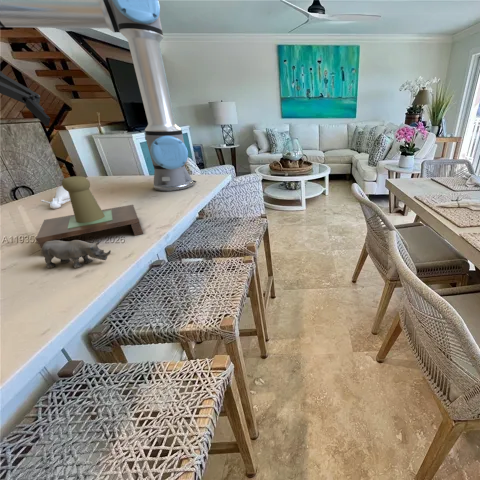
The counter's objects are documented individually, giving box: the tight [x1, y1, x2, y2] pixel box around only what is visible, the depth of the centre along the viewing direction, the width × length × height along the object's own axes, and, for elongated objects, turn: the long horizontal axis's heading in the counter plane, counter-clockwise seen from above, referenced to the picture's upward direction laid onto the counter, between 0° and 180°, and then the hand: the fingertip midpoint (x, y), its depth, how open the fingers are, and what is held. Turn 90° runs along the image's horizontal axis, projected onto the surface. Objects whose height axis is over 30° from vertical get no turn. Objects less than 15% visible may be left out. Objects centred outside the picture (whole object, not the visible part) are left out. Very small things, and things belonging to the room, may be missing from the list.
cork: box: [61, 175, 105, 223], centre depth 68 cm, size 6×6×11 cm
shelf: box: [35, 204, 144, 250], centre depth 71 cm, size 20×14×5 cm
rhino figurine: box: [41, 239, 112, 269], centre depth 57 cm, size 4×14×6 cm, turn 93°
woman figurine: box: [40, 185, 71, 210], centre depth 96 cm, size 12×4×18 cm
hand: (15, 123), depth 64 cm, fingers open, 13 cm apart
